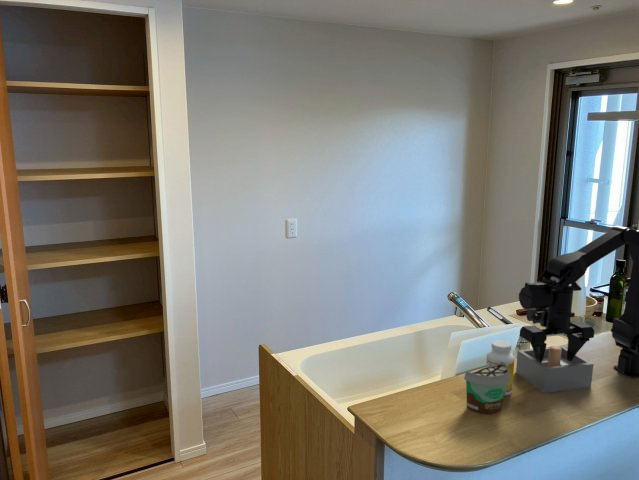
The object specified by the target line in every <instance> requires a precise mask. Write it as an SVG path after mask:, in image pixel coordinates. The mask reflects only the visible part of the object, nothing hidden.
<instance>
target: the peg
mask: <svg viewBox="0 0 639 480" xmlns="http://www.w3.org/2000/svg"><path fill="white" fill-rule="evenodd" d="M548 347H549V356H548V366H547V367H555V366H560V361H561V352H562V349H561V348H560V347H557V345H550V346H548Z"/></svg>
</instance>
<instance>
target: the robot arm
mask: <svg viewBox="0 0 639 480" xmlns="http://www.w3.org/2000/svg"><path fill="white" fill-rule="evenodd" d="M626 244H628V252H629V256H630V258H631V260H632V268H631V271H630V277H629V283H628V287H627V293H626V299H625V304H624V309H623V313H622V314H621V315H620V316H619V317H614V318H613V320H612V326H611V328H610V332H611V335H612V338H613V339H614V342H615V346H617V347H619V348H621V349H620V350H619V354H618V360H617V365H613V369H615V370H616V371H619V372H620V373H623V374H624V375H626V376H628V377H629V378H639V229H637V230H635V229H633V228H631V227H626V226H623V225H615V226H612V227H611V228H610V230H608V231H607V232H605V233H603V234H602V235H600V236H599V237H597V238H596V239H594V240H592V241H591V242H589V243H587V244H586V245H584V246H582V247H581V248H579V249H577V250H575V251H573V252H568V253H563V254H560V255H557V256H555V257H553V258H551V259H550V260H549V261H548V262H547V266H546V267H545V268H544V269H543V271H542V272H541V274H540V275H539V277H538V278H537V279H536V282H530V281H528V282H525V283H524V286H523V287H521V289H520V291H519V293H518V301H519V304H520V306H521V307H522V308H523V310H526V320H527V321H528V322H532V324H533V325H525V326H521V328H520V329H519V337H521V338H522V339H524V340H525V341H527V342H528V343H529V344H530V345H531V349H533V351H534V354H535V357H536V360H537V361H538V362H540V363H542V360H543V357H544V353H545V349H546V347H547V343H546V341H547V338H548V337H554V336H557V337H558V336H566V337H567V347H566V348H567V360H568V361H571V360H572V359H573V358H574V356H575V355H576V354H577V353H578V352H580V350H581V349H582V348H583V347H584V345H585V344H586V343H587V342H589V341H590V340H591V339H593V338H594V337H595V329H594V327H593V326H592V325H590V324H588V323H585V322H583V321H582V320H578V321H571V318H574V317H575V314H576V313H575V312H573V311H572V310H573V309H572V307H573V298H574V292H577V291H582V287H581V286H580V285H579V284H578V283H577V282H578V281H579V280H580V279H581V278H582V277H584V275H585V274H586V272H587V270H588V268H589V267H590V266H592V265H593V264H595V263H596V262H598V261H600V260H602V259H604V258H605V257H606V256H607V255H610V254H611V253H613V252H614V251H616V250H617V249H619V248H621V247H623V246H624V245H626ZM538 309H543V311H538ZM536 324H539V326H540V327H541V328H540V327H538V326H536ZM542 328H543V329H542ZM577 355H578V354H577Z"/></svg>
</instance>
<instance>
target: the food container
mask: <svg viewBox="0 0 639 480" xmlns="http://www.w3.org/2000/svg"><path fill="white" fill-rule="evenodd" d="M464 380H465V385H466V391H465V392H466V409H467V410H469V411H471V412H473V413H476V414H481V415H495V414H498V413H500V412H501V411H502V410H503V406H504V399H505V396H506V395H505V389H506V384H507V382H508V381H509V380H510V371H509V369H508V366H507V365H506V364H505V363H503V362H502V361H501V363H500V365H498V366H495V367H487V368H486V367H483V368H481V369H479V370H477V371H473V372H470V371H468V370H466V371H465V373H464ZM504 395H505V396H504Z"/></svg>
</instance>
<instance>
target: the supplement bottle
mask: <svg viewBox="0 0 639 480" xmlns="http://www.w3.org/2000/svg"><path fill="white" fill-rule="evenodd" d="M511 350H512V344H511V343H510V342H509V341H506V340H503V339H502V340H501V339H497V340H492V342H491V350H489V351H488V352H487V353H486V363H485V364H486V365H485V368H487V367H495V366H498V365H500V363H501V361H502V362H503V363H505V364H506V365H507V366H508V369H509V371H510V380H509V381H508V382H507V384H506V389H505V395H504V397H505V396H508V395H511V394H512V393H513V385H514V371H515V370H514V369H515V356H514V353H512V351H511Z"/></svg>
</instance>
